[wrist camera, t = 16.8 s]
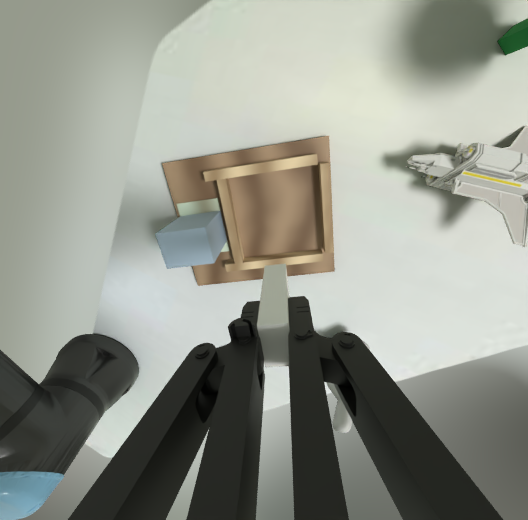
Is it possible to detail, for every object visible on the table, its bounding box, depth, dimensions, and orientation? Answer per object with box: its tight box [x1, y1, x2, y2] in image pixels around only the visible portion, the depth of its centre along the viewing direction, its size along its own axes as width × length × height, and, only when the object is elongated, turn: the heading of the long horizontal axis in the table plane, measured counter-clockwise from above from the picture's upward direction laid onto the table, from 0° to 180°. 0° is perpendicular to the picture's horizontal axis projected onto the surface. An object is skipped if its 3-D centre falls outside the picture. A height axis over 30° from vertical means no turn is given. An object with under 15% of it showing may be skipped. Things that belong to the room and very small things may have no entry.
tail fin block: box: [155, 211, 227, 269], centre depth 33 cm, size 6×4×8 cm
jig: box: [162, 136, 334, 286], centre depth 36 cm, size 22×19×3 cm
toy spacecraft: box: [406, 126, 528, 247], centre depth 29 cm, size 8×15×15 cm
